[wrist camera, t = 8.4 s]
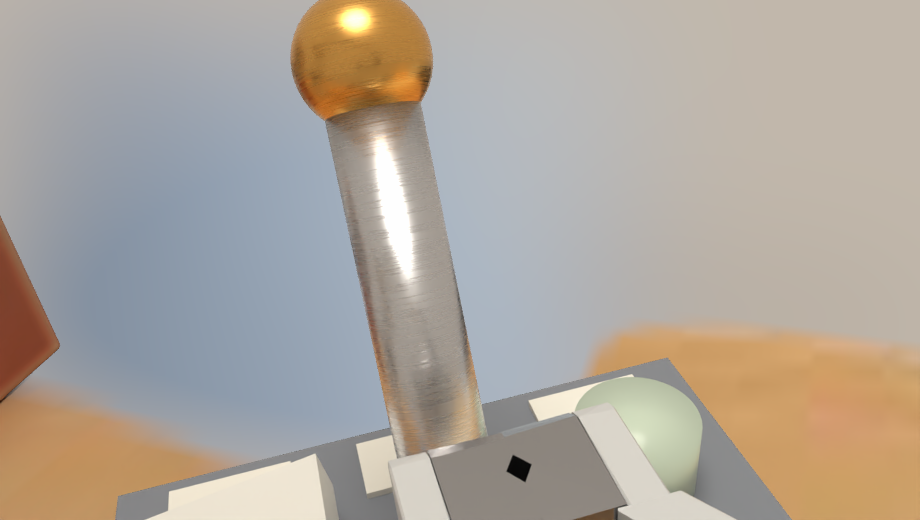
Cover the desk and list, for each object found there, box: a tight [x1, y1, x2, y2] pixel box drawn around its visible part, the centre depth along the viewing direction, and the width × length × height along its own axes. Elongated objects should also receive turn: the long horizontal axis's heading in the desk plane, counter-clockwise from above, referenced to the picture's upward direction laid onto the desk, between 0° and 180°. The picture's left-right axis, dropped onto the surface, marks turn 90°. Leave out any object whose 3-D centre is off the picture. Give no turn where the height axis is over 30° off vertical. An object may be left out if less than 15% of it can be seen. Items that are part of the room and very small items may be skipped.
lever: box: [291, 0, 488, 459], centre depth 15 cm, size 3×3×14 cm
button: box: [575, 377, 703, 496], centre depth 20 cm, size 3×3×2 cm
